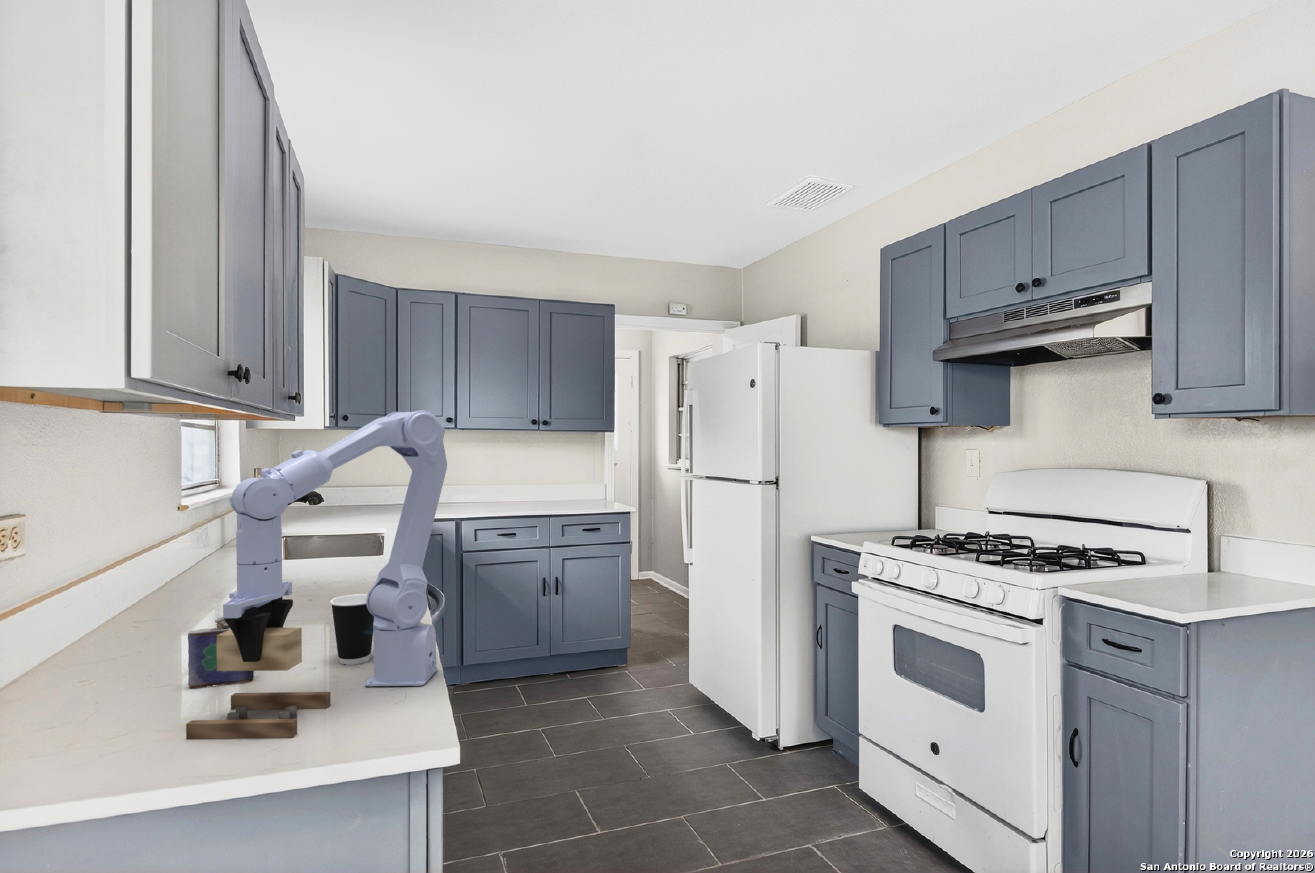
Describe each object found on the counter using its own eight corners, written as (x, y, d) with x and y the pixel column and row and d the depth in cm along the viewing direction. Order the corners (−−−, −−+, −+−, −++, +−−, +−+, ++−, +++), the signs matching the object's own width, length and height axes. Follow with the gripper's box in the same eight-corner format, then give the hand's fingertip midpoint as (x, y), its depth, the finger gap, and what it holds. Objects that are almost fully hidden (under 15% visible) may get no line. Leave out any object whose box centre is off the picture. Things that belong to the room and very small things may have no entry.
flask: (186, 689, 114) (186, 622, 114) (191, 683, 117) (191, 617, 117) (252, 682, 117) (252, 616, 117) (255, 677, 120) (255, 612, 120)
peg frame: (330, 705, 107) (330, 691, 107) (292, 737, 96) (292, 722, 96) (235, 706, 107) (235, 692, 107) (186, 738, 95) (186, 723, 95)
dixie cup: (383, 662, 127) (382, 599, 127) (334, 670, 123) (334, 606, 123) (373, 651, 134) (372, 591, 134) (326, 658, 129) (326, 597, 129)
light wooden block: (301, 661, 105) (301, 627, 105) (287, 670, 101) (287, 634, 101) (233, 661, 105) (233, 627, 105) (216, 670, 101) (216, 635, 101)
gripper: (259, 553, 111) (260, 641, 111) (199, 571, 96) (200, 672, 96) (305, 552, 111) (306, 641, 111) (252, 570, 96) (253, 672, 96)
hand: (260, 656), depth 103 cm, fingers closed on light wooden block, 4 cm apart
